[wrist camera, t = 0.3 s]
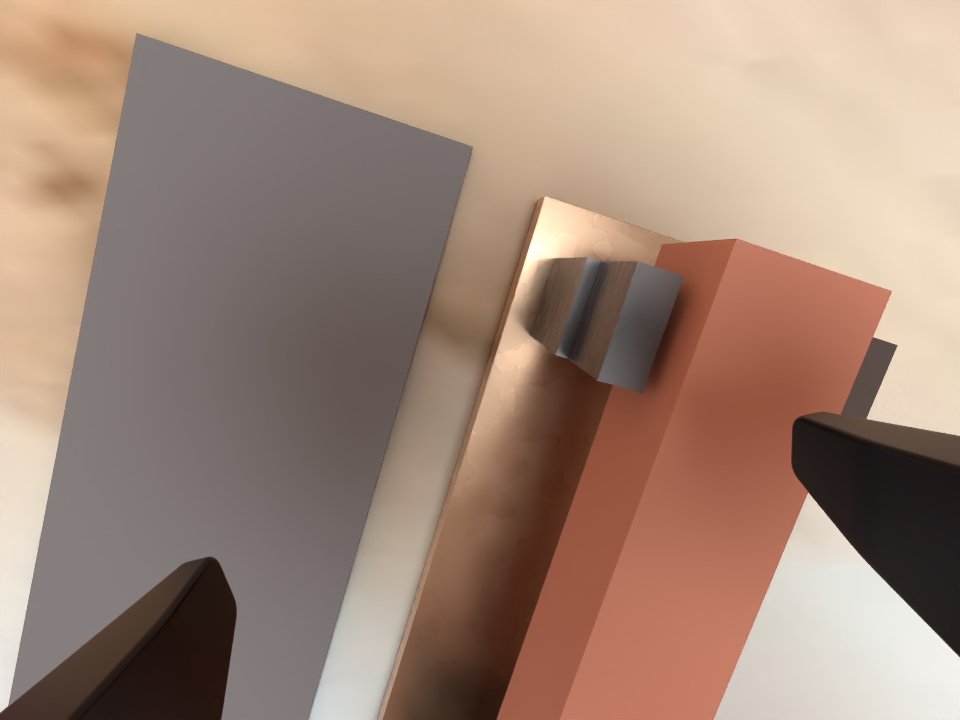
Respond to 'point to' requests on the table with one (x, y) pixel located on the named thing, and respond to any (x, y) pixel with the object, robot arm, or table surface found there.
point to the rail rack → (538, 451)
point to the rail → (691, 490)
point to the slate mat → (238, 363)
